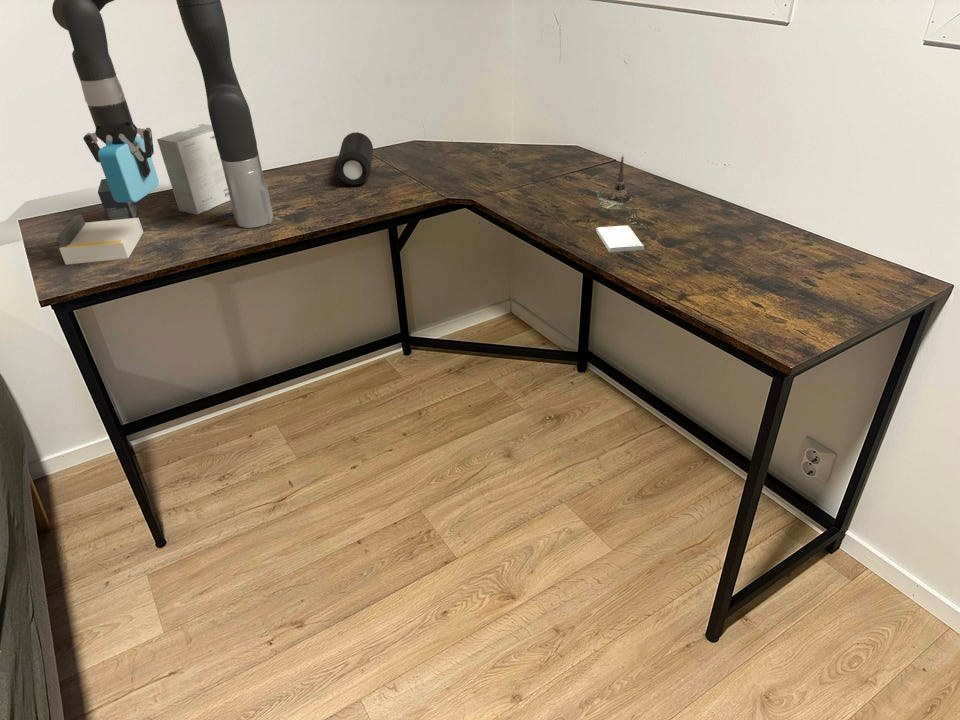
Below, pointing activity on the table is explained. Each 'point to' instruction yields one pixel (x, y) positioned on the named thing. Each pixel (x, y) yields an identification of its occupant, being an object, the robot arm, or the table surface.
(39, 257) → the table surface
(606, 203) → the eiffel tower figurine
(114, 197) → the data package
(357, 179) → the portable speaker
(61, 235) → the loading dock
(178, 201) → the hard drive box
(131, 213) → the small box
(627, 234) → the hard drive
